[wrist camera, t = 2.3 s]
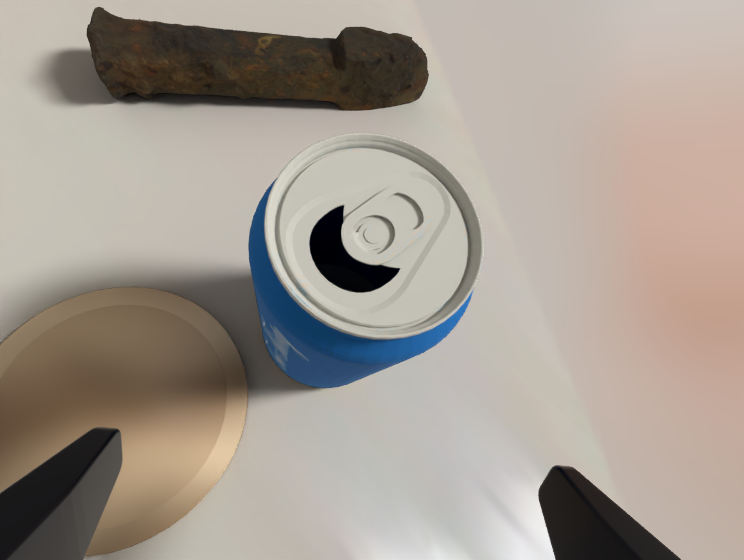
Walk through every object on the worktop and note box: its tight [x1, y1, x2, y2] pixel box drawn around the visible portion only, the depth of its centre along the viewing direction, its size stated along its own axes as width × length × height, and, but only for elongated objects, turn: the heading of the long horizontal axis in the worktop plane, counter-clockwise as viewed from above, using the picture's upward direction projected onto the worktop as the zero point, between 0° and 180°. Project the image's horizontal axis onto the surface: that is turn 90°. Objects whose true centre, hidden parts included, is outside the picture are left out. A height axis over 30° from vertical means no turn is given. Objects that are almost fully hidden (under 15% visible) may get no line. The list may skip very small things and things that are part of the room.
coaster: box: [0, 287, 248, 557], centre depth 17 cm, size 11×11×1 cm
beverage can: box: [248, 133, 484, 388], centre depth 15 cm, size 6×6×12 cm
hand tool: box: [87, 7, 429, 111], centre depth 23 cm, size 19×4×5 cm, turn 95°
